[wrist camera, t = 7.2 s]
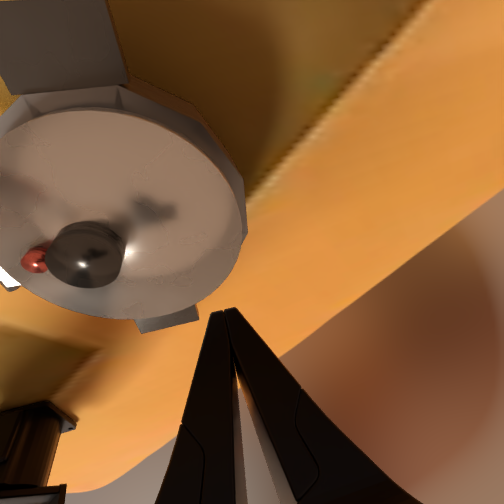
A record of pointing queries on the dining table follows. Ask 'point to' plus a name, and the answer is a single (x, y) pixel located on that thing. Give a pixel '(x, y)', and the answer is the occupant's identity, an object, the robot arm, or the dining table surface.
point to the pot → (92, 86)
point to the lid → (113, 214)
